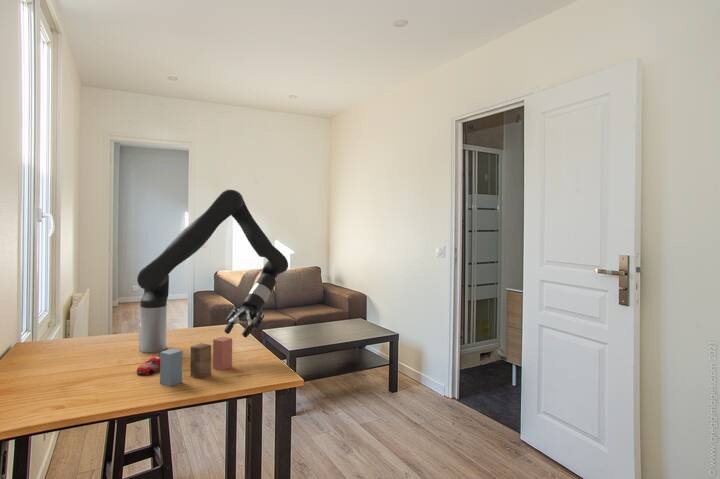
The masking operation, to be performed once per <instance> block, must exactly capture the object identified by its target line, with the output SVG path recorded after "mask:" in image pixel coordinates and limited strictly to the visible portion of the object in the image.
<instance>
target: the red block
mask: <svg viewBox="0 0 720 479" xmlns="http://www.w3.org/2000/svg"><path fill="white" fill-rule="evenodd" d="M231 367H233V338H232V337H226V336H221V337H217V338H214V339H212V369H215V370H220V371H225V370H227V369H229V368H231Z"/></svg>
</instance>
